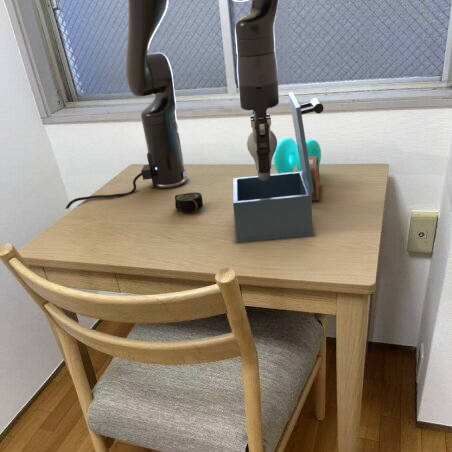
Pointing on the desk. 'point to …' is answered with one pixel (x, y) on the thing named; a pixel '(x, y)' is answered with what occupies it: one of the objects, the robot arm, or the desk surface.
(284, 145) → the turquoise spool
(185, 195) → the tape measure
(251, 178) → the compartment
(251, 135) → the lightbulb
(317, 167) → the tin
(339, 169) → the desk surface
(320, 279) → the desk surface
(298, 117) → the lid
